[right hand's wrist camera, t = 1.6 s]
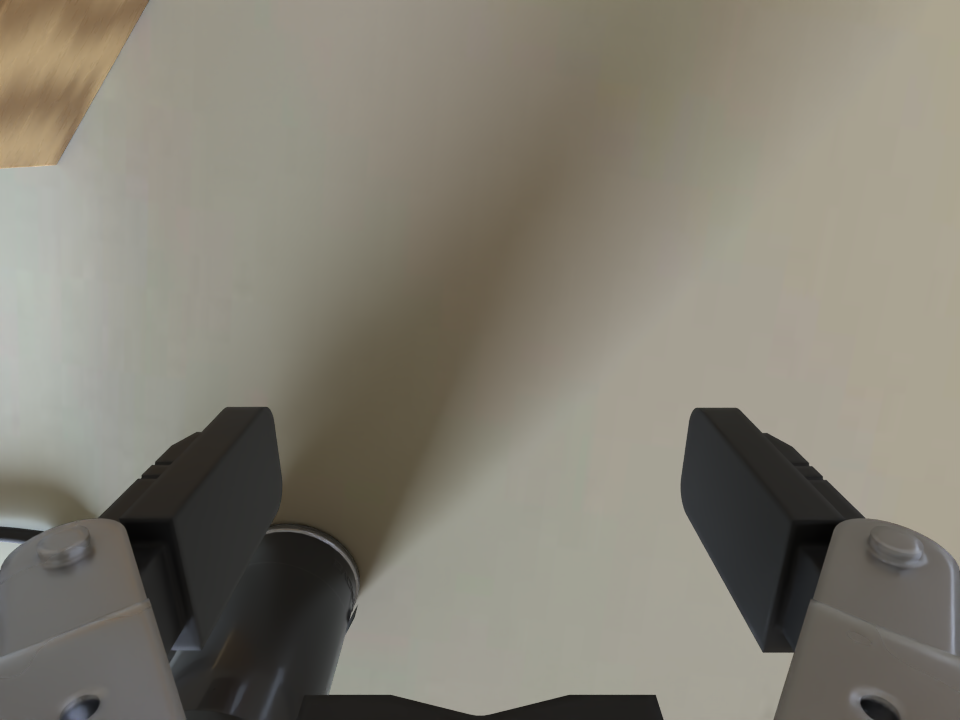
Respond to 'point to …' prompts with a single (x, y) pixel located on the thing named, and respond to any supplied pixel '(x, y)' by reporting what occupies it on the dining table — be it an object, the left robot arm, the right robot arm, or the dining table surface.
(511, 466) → the dining table surface
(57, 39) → the bar
